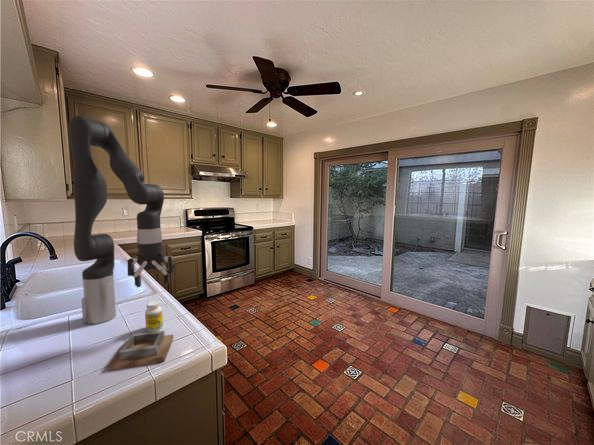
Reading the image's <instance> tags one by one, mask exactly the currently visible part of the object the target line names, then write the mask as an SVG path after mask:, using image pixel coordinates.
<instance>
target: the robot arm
mask: <svg viewBox="0 0 594 445" xmlns="http://www.w3.org/2000/svg"><path fill="white" fill-rule="evenodd" d="M68 138H69V144H70V151H71V158H72V168H73V170H72V171H73V198H74V210H75V211H74V215H75V216H74V217H75V220H74V221H75V223H74V224H75V225H74V236H73V237H74V238H73V251H74V255H75V257H76V259H77V260H79V261H80V262H89V261H93V260H95V262H94V263H92V264H91V265H89V266H87V268H84V269H83V271H82V276H81V278H82V286H83V288H82V289H83V297H82V298H81V312H82V314H81V315H82V322H83V323H82V324H87V325H96V324H102V323H106V322H108V321H111V320H112V319H114V318H115V317H116V316H117V308H116V307H117V306H116V294H115V293H116V292H115V280H114V278H115V277H114V268H115V243H114V239H113V238H112V236H111V235H110V234H108V233H98V234H92V230H93V226H94V223H95V221H96V219H97V218H98V216H99V214H100V213H101V211H102V210H103V208H104V207H105V206H106V204H107V201H108V187H107V184H108V183H107V180H106V179H105V177H104V176H103V174H102V173H101V171H100V169H98V167H97V165H96V163H95V161H94V159H93V157H92V150H91V146H92V147H99V148H101V149H102V150H104V152H106V153H107V154H108V156H109V166H110V167H109V168H111V171H112V172H113V174H114V175H115V176H116V177H117V179H118V180H119V181H120V182H122V183H123V187H124V189H125V191H126V194H127V196H128V197H129V199H130V200H131V201H132V202H133V203H134V204H137V205H146V206H145V208H144V210H143V211H140V212H138V213H137V215H136V226H137V227H136V228H137V233H136V243H137V255H138V257H137V258H136V257H135V258H134V257H130V258H129V259H127V276H128V277H133V278H134V286H135V287H137V288H141V286H142V276H141V274H142V272H143V271H144V270H145V271H149V270H157V269H158V271H159V272H161V274H163V286H167V285H168V284H169V282H170V274H172V273H173V272H174V271H175V263H174V256H173V255H168V256H164V250H163V247H164V246H163V233H162V227H161V213H162V211H163V205H164V201H165V192H164V190H163V189H162V188H161V186H159V185H157V184H148V183H144V182H145V174H144V173H143V172H142V170H140V168H139V167H138V166H137V165H136V164H135V162H133V161H132V159H131V158H130V157H129V155H128V154H127V153H126V151H125V150H124V148H123V147H122V145H121V143H120V142H119V140H118V138H117V136H116V135H115V134H114V132H113V130H112V128H110V126H109V125H108V124H106V123H105V122H103V121H100V120H96V119H93V118H90V117H87V116H82V115H74V116H71V118H70V119H69V122H68ZM164 261H165V262H166V263H167V264H168V267H166V265H165V264H164ZM136 263H138V264H139V265H140V266H139V267H138V268H137V270H136V271H135V265H136Z"/></svg>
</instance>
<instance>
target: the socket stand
mask: <svg viewBox="0 0 594 445" xmlns="http://www.w3.org/2000/svg"><path fill="white" fill-rule="evenodd" d="M173 341H174V334H168V335H167V334H166V335H165V330H157V331H153V332H149V331H147V332H144V333H143V332H142V333H141V332H139V333H134V334H131V335H130V336H129V338H128V339H125V341H124V342H123V344H122V345H121V346H120V347H119V349H118V351H117V352H116V353H115V355H114V356H113V358H112V359H111V361H110V362H109V363H108V365H107V367H108V371H112V370H118V369H126V368H132V367H139V366H144V365H151V364H159V363H164V362H165V361H166V359H167V356H168V354H169V351H170V349H171V346H172V344H173Z"/></svg>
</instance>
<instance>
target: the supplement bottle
mask: <svg viewBox="0 0 594 445" xmlns="http://www.w3.org/2000/svg"><path fill="white" fill-rule="evenodd" d="M160 303H161V302H160V301H159V300H152V301H150V302H148V303H147V304H146V310H145V311H144V318H145V330H146V331H147V332H156V331H160V329H162V328H163V326H164V318H163V309H162V308H163V307H161V306H160Z"/></svg>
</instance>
